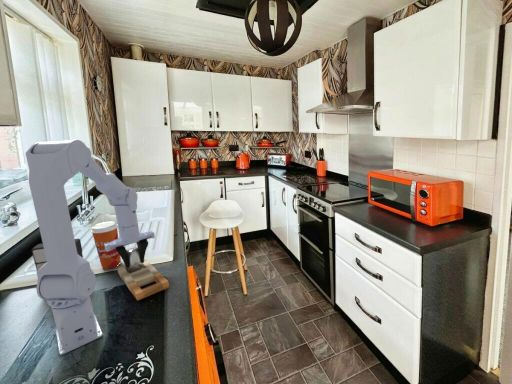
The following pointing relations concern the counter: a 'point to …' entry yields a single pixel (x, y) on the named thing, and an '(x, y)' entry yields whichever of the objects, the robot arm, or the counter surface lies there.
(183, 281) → the counter surface
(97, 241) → the coffee cup
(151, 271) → the wooden slotted board
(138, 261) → the peg
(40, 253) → the calculator
